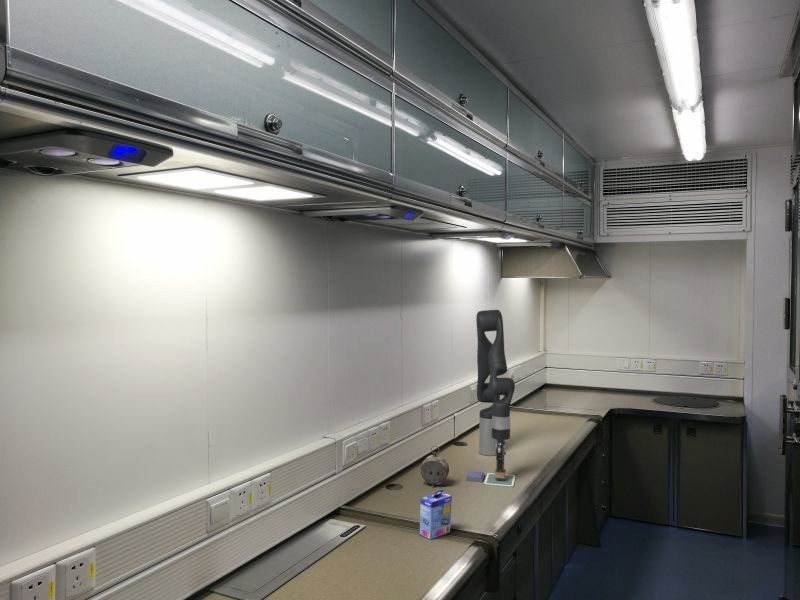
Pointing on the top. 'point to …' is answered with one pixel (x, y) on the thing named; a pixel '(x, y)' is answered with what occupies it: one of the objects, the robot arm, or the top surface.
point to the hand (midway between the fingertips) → (500, 468)
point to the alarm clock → (434, 469)
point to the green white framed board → (506, 482)
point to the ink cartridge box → (435, 514)
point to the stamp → (500, 473)
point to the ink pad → (475, 476)
